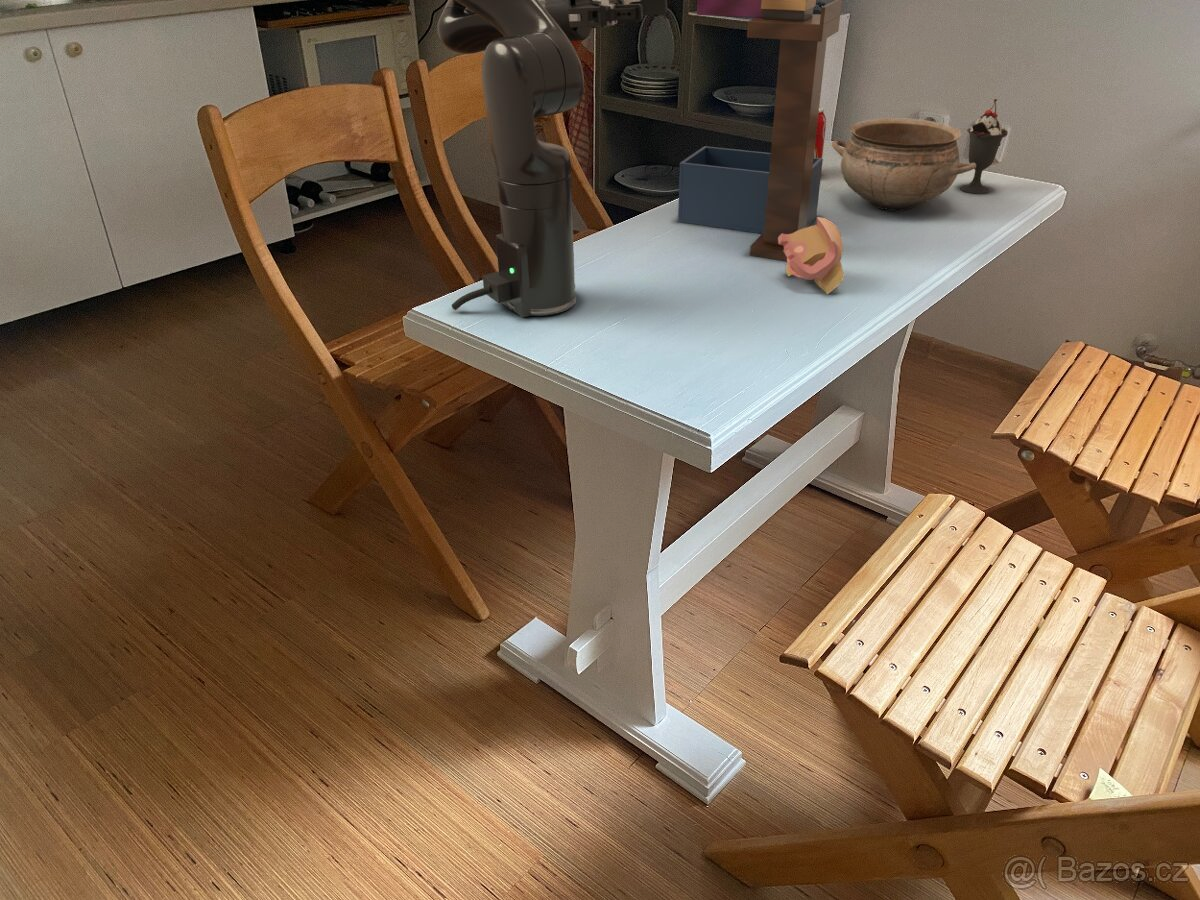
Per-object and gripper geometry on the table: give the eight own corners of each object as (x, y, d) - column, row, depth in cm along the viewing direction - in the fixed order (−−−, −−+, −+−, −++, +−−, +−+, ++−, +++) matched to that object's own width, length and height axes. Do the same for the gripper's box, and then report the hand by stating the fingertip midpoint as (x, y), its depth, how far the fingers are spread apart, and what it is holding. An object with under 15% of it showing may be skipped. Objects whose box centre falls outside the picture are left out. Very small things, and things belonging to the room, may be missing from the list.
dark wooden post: (732, 254, 135) (749, 4, 116) (751, 235, 141) (769, -4, 123) (800, 264, 131) (829, 7, 112) (816, 244, 137) (846, -2, 119)
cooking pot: (800, 204, 154) (808, 131, 147) (852, 178, 166) (861, 109, 159) (940, 234, 140) (956, 155, 133) (986, 204, 152) (1002, 130, 145)
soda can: (820, 181, 165) (828, 113, 158) (781, 179, 166) (787, 112, 159) (820, 170, 171) (827, 104, 164) (782, 169, 172) (788, 103, 165)
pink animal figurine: (791, 267, 131) (845, 224, 127) (821, 319, 127) (877, 277, 122) (759, 247, 124) (815, 202, 120) (789, 302, 120) (848, 258, 115)
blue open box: (677, 221, 147) (679, 163, 142) (701, 202, 156) (704, 146, 150) (797, 238, 140) (804, 177, 134) (816, 217, 148) (823, 158, 143)
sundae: (985, 183, 162) (1004, 96, 154) (1000, 194, 156) (1021, 104, 148) (949, 184, 162) (966, 97, 154) (963, 195, 156) (981, 105, 148)
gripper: (580, 34, 141) (675, 31, 134) (534, 48, 130) (634, 45, 123) (575, -19, 137) (673, -26, 130) (528, -10, 126) (631, -16, 119)
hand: (654, 9), depth 127 cm, fingers open, 8 cm apart
